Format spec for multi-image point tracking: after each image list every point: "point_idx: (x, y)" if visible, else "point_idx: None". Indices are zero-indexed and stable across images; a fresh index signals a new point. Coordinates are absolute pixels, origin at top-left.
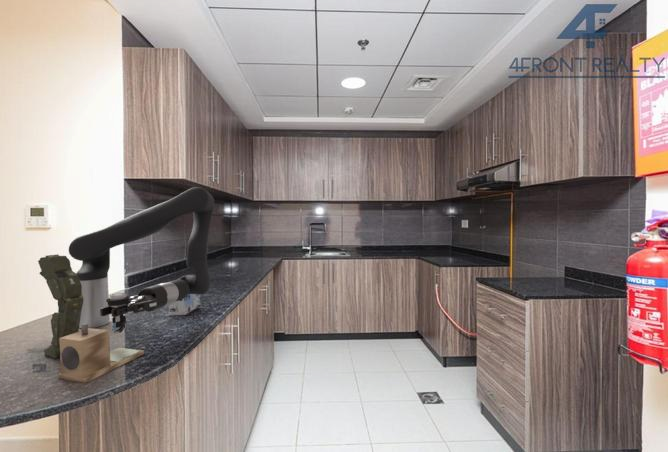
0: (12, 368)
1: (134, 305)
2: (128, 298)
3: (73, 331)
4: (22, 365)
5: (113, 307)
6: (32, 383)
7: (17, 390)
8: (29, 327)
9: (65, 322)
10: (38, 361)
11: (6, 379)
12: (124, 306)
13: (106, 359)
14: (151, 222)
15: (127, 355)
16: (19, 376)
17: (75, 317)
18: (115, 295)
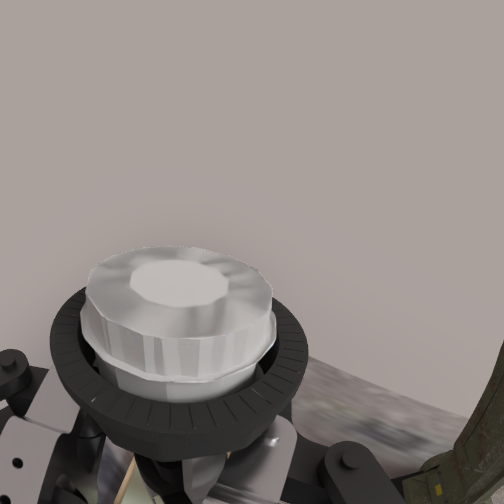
0: (439, 416)
1: (17, 357)
2: (55, 330)
3: (463, 473)
4: (441, 429)
5: None
6: (307, 385)
7: None
8: None
9: (475, 412)
10: (437, 451)
11: (385, 389)
12: (96, 359)
13: None
14: None
15: (136, 497)
16: (377, 401)
17: (494, 435)
18: (183, 261)
